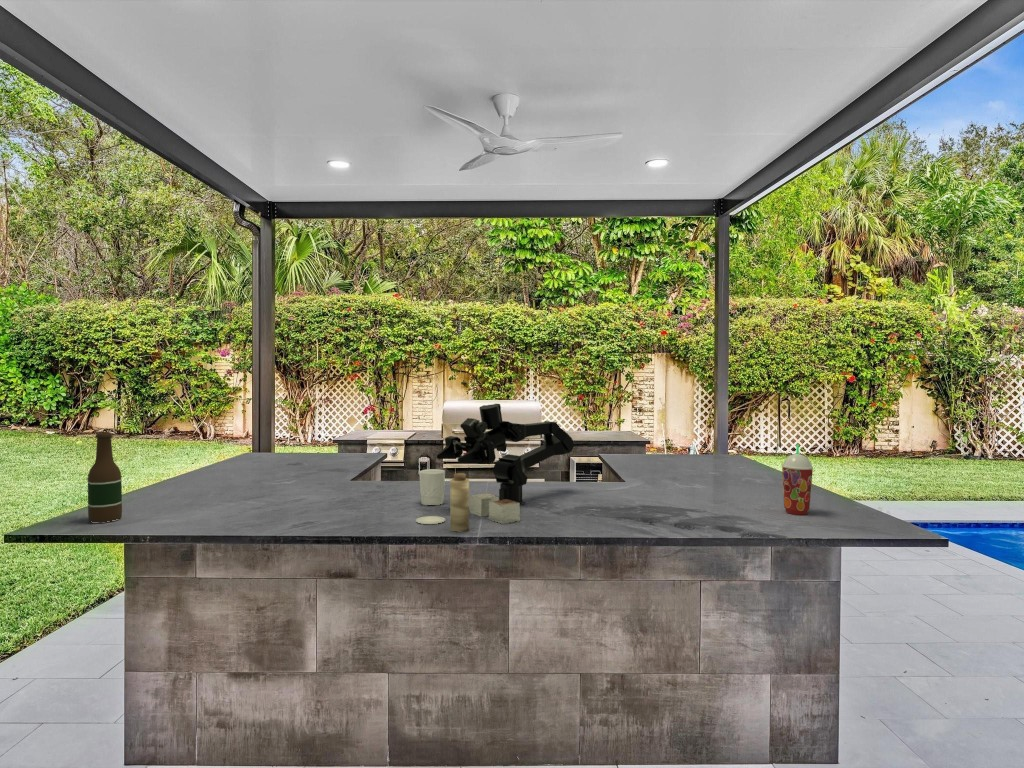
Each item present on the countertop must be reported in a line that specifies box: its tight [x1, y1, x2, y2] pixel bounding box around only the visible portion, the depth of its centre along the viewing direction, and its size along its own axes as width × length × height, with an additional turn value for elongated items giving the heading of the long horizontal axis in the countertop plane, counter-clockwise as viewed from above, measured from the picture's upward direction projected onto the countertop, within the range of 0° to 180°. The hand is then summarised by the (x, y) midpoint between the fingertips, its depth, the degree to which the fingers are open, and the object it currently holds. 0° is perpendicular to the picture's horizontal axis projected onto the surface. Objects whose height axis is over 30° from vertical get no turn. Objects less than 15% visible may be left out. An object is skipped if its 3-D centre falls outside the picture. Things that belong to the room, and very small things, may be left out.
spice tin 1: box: [469, 492, 499, 518], centre depth 180 cm, size 6×6×5 cm
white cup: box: [418, 468, 446, 506], centre depth 192 cm, size 8×8×10 cm
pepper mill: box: [449, 472, 470, 532], centre depth 162 cm, size 5×5×14 cm
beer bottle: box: [87, 431, 123, 522], centre depth 170 cm, size 8×8×24 cm
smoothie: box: [781, 444, 814, 516], centre depth 182 cm, size 8×8×20 cm
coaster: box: [415, 515, 446, 525], centre depth 170 cm, size 8×8×1 cm
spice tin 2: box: [488, 499, 521, 525], centre depth 172 cm, size 6×6×5 cm
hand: (447, 458), depth 174 cm, fingers open, 9 cm apart
